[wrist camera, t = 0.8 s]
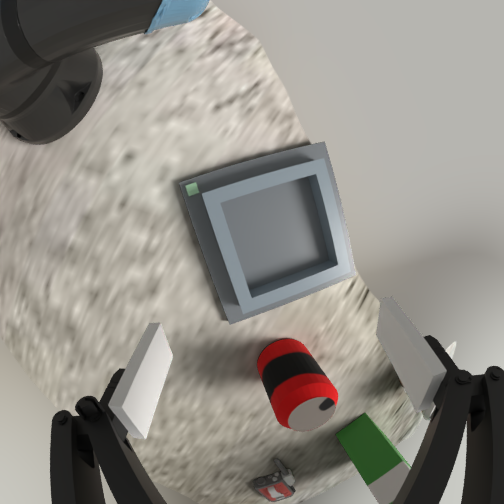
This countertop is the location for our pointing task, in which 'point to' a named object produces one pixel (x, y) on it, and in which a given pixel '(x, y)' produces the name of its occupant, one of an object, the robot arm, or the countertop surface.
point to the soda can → (296, 386)
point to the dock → (270, 229)
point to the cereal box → (374, 458)
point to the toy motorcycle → (276, 484)
